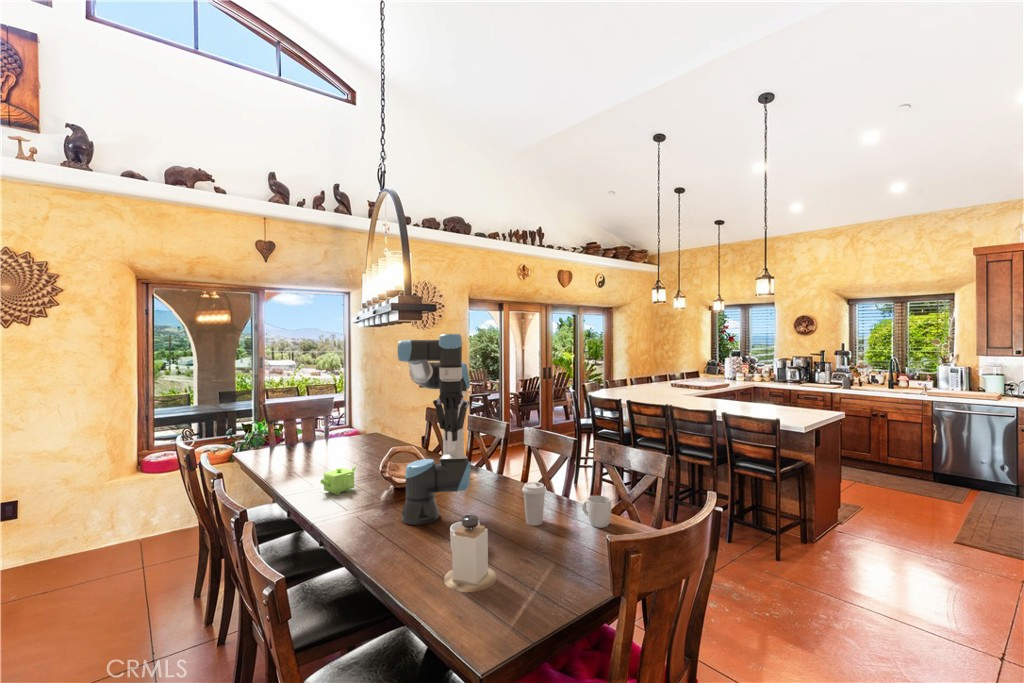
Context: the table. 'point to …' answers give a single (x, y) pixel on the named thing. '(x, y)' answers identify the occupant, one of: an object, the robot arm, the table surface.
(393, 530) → the table surface
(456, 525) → the mug
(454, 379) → the robot arm
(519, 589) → the table surface
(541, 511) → the coffee cup
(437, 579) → the table surface
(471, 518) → the plunger
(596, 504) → the mug
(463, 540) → the white french press
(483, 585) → the trivet
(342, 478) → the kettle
